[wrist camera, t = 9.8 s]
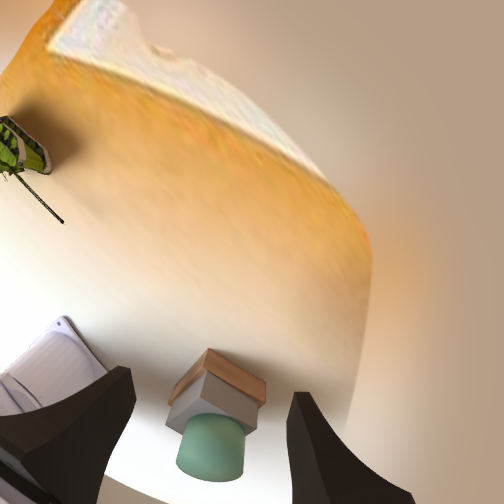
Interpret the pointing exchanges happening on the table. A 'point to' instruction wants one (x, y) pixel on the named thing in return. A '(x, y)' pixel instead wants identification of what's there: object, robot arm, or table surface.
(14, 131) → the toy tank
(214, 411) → the gray block
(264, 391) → the walnut block
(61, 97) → the table surface
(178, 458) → the green cylinder
